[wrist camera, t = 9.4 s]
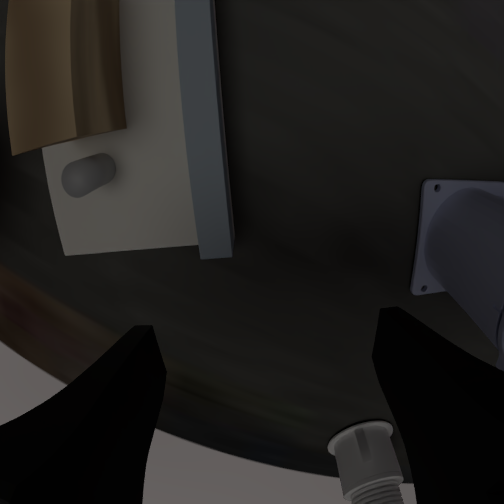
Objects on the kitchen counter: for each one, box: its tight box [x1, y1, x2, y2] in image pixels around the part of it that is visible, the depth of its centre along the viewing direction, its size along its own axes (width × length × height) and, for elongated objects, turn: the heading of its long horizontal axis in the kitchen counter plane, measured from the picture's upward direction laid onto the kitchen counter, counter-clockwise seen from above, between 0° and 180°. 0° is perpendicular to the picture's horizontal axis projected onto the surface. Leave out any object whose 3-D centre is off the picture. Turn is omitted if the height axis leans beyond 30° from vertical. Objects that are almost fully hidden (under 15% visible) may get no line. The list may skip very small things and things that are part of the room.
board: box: [42, 0, 235, 259], centre depth 14 cm, size 11×18×4 cm, turn 4°
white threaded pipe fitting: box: [328, 421, 404, 504], centre depth 23 cm, size 8×7×10 cm
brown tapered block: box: [5, 0, 127, 156], centre depth 11 cm, size 4×8×6 cm, turn 4°
